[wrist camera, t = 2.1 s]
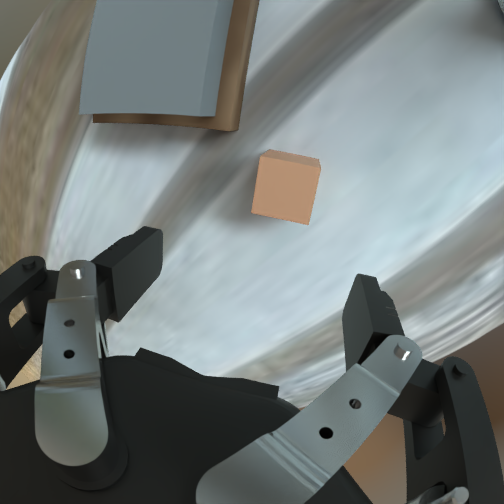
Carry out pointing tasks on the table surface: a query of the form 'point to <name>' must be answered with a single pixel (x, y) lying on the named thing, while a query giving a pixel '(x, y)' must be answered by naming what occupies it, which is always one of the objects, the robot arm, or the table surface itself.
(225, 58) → the walnut slab
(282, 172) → the terracotta block
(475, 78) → the table surface
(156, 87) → the slate top slab
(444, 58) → the table surface
